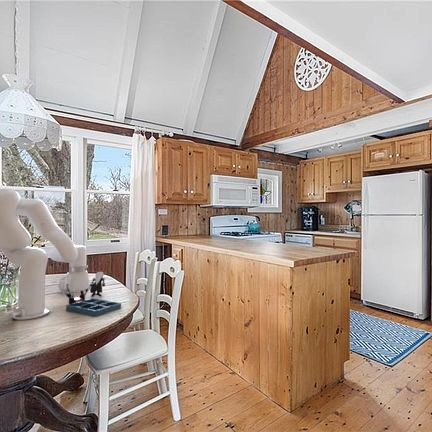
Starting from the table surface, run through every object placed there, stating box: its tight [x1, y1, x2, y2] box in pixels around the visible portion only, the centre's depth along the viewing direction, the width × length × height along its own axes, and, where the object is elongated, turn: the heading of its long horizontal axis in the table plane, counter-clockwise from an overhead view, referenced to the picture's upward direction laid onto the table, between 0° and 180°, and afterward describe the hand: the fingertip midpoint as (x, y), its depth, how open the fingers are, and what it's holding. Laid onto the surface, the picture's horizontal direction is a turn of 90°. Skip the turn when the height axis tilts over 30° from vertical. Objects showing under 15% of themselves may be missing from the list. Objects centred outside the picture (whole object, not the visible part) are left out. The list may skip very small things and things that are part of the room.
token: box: [74, 296, 82, 303], centre depth 159 cm, size 5×5×3 cm
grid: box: [65, 297, 122, 318], centre depth 152 cm, size 14×20×3 cm
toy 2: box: [89, 271, 107, 298], centre depth 181 cm, size 8×20×15 cm
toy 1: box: [57, 276, 66, 293], centre depth 185 cm, size 9×11×15 cm
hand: (76, 303), depth 159 cm, fingers closed on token, 4 cm apart
